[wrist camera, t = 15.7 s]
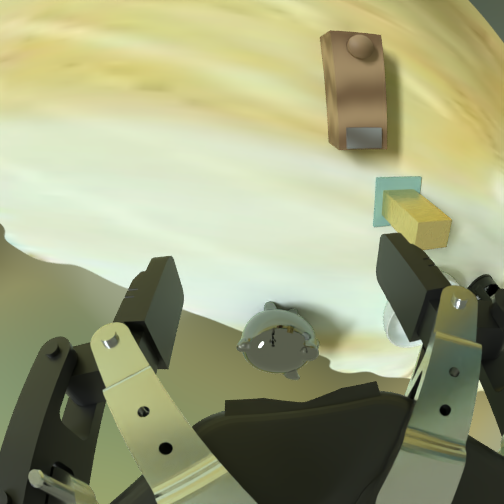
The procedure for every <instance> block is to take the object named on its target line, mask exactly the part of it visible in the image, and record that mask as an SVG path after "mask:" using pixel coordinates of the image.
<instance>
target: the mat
mask: <svg viewBox="0 0 504 504" xmlns="http://www.w3.org/2000/svg"><path fill="white" fill-rule="evenodd" d="M420 186H421V177H420V176H419V177H379V178H376V191H375V208H374V221H373V226H374V227H379V226H390V225H391V224H390V223H389V222H388V221H387V220H386V219H385V218H384V217H383V216H382V203H383V190H403V189H414V190H415V191H417V192H418V193H419V194H420Z"/></svg>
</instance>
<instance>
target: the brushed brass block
mask: <svg viewBox="0 0 504 504" xmlns="http://www.w3.org/2000/svg"><path fill="white" fill-rule="evenodd" d="M382 216H383V217H384V218H385V219H386V220H387V221H388V222H389V223H390V224H391V226H392V227H393V228H394V229H395V230H396V231H397V232H398V233H401V234H402V235H403V236H404V237H405V238H406V239H407V241H408V242H409V243H410V244H414V245H416V246H417V247H419V248H421V249H422V250H427V249H435V248H442V247H446V246H447V241H448V237H449V232H450V227H451V222H452V219H450V218H449V217H448V216H447V215H446V214H444V213H443V212H442V211H441V210H440V209H438V208H437V207H436V206H435V205H433V204H432V203H431V202H430V201H428V200H427V199H426V198H424V197H423V196H422V195H421V194H419V193H418V192H417V191H415V190H414V189H403V190H383V203H382Z"/></svg>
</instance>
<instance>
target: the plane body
mask: <svg viewBox="0 0 504 504" xmlns="http://www.w3.org/2000/svg"><path fill="white" fill-rule="evenodd" d="M320 42H321V50H322V59H323V69H324V79H325V90H326V103H327V118H328V136H329V143H330V144H332V145H333V146H335V147H336V148H337V149H339V150H352V149H387V103H386V83H385V69H384V58H383V48H382V39H381V35H376V34H368V33H358V32H345V31H329V32H327V33H326V34H324V35H323V36H321V37H320Z"/></svg>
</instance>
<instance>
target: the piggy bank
mask: <svg viewBox="0 0 504 504" xmlns="http://www.w3.org/2000/svg"><path fill="white" fill-rule="evenodd" d="M318 348H319V341H318V339H317V338H316V336H315V332H314V330H313V328H312V327H311V325H310V324H309V323H308V322H307V321H306V320H305V319H304V318H303V317H301V316H299V315H298V311H297V310H296V309H290V310H289V311H286V310H281V309H277V308H276V306H275V304H274V303H273V302H267V303H266V304H265V305H264V311H262V312H259V313H258V314H256V315H255V316H253V317H252V318H251V319H250V320H249V321H248V323H247V324H246V326H245V328H244V330H243V333H242V338H241V339H240V341H239V343H238V344H237V350H238V351H240V352H243V355H244V357H245V359H246V360H247V361H248V363H250V364H251V365H252V366H253V367H255V368H256V369H258V370H261V371H264V372H269V373H276V374H283V375H284V376H285V377H286V378H288V379H291V380H299V379H300V377H299V375H298V373H297V370H298V369H300V368H302V367H303V366H304V365H306V364H307V362H308V361H312V360H314V359H316V358H317V357H318V355H319V350H318Z"/></svg>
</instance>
